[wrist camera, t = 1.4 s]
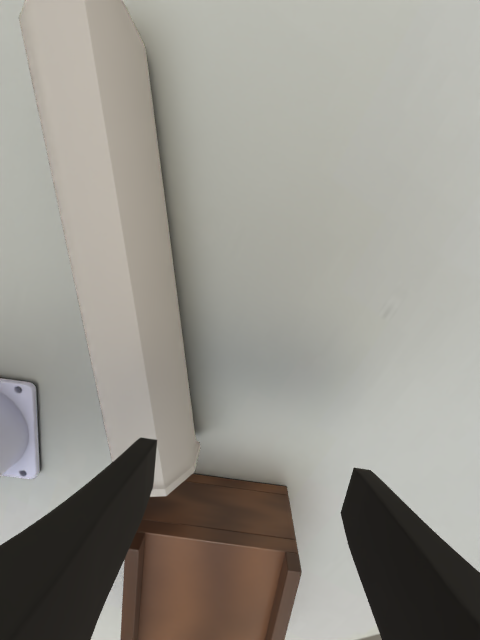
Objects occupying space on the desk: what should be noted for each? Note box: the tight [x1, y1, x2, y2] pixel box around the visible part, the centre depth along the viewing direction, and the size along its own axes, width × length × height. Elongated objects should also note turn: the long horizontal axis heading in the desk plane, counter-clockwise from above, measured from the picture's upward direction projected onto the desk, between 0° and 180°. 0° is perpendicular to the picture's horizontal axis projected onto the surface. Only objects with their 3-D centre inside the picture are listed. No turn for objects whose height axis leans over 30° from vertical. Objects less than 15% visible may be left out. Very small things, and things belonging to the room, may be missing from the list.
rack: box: [121, 474, 301, 640], centre depth 20 cm, size 10×16×6 cm, turn 172°
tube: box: [19, 0, 201, 497], centre depth 15 cm, size 5×5×25 cm
